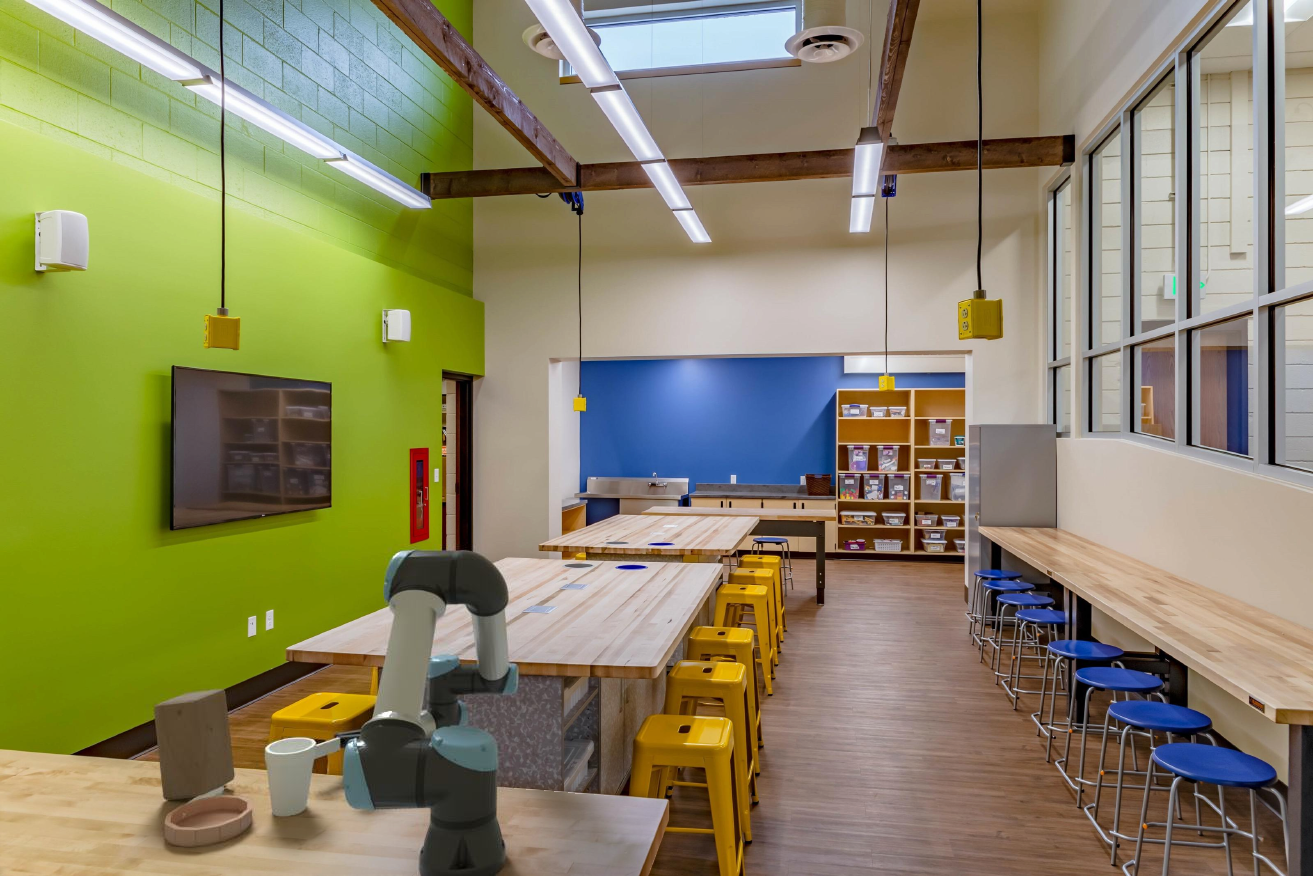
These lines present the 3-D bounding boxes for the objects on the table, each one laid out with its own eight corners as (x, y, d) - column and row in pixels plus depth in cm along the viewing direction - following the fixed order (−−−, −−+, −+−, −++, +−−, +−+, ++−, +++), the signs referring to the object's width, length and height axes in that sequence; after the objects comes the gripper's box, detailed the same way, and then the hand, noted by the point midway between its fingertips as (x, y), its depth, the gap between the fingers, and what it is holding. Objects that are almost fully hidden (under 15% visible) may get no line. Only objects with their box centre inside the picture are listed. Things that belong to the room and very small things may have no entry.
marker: (228, 793, 172) (180, 824, 156) (219, 789, 172) (170, 819, 156) (232, 781, 172) (185, 811, 156) (224, 777, 172) (176, 807, 156)
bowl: (267, 824, 156) (267, 807, 156) (189, 855, 144) (190, 837, 144) (226, 805, 164) (226, 789, 164) (149, 833, 152) (150, 816, 152)
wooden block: (203, 798, 163) (193, 700, 164) (161, 802, 165) (151, 705, 166) (237, 779, 173) (227, 687, 174) (196, 783, 174) (187, 692, 176)
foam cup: (253, 813, 160) (255, 748, 161) (293, 796, 169) (294, 734, 169) (284, 824, 156) (286, 757, 156) (324, 805, 164) (325, 742, 164)
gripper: (447, 758, 182) (369, 791, 164) (376, 736, 195) (297, 764, 177) (448, 726, 182) (369, 755, 164) (377, 705, 195) (298, 730, 178)
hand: (331, 759), depth 171 cm, fingers open, 13 cm apart
